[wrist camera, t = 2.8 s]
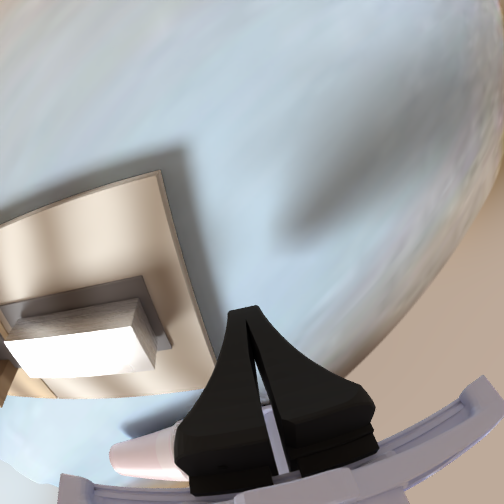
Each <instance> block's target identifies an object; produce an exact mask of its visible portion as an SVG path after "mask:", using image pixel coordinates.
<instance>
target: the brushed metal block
mask: <svg viewBox="0 0 504 504" xmlns="http://www.w3.org/2000/svg"><path fill="white" fill-rule="evenodd" d="M4 343H5V344H6V346H7V347H8V349H9V350H10V351H11V353H12V354H13V356H14V357H15V358H16V360H17V361H18V362H19V364H20V365H21V366H22V367H23V369H24V370H25V371H26V372H27V374H28V375H29V376H30V377H31V378H53V377H82V376H98V375H111V374H123V373H133V372H142V371H150V370H155V363H156V353H157V344H158V340H157V338H156V335H155V333H154V331H153V329H152V327H151V325H150V323H149V320H148V318H147V316H146V314H145V312H144V309H143V307H142V305H141V302H140V300H139V298H134V299H129V300H124V301H118V302H113V303H108V304H102V305H97V306H91V307H86V308H80V309H75V310H69V311H63V312H57V313H51V314H46V315H40V316H34V317H27V318H21V319H18V320H17V321H16V323H15V325H14V326H13V328H12V329H11V331H10V333H9V334H8V336H7V338H6V339H5V341H4Z"/></svg>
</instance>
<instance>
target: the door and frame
mask: <svg viewBox="0 0 504 504" xmlns="http://www.w3.org/2000/svg"><path fill="white" fill-rule="evenodd" d="M134 298H139V300H140V302H141V305H142V307H143V309H144V312H145V314H146V316H147V318H148V320H149V323H150V325H151V327H152V329H153V331H154V333H155V335H156V338H157V340H158V344H157V353H156V363H155V370H150V371H142V372H133V373H123V374H111V375H98V376H82V377H53V378H31V377H30V376H29V375H28V374H27V372H26V371H25V370H24V369H23V367H22V366H21V365H20V364H19V362H18V361H17V360H16V358H15V357H14V356H13V354H12V353H11V351H10V350H9V349H8V347H7V346H6V344H5V343H4V341H5V339H6V338H7V336H8V334H9V333H10V331H11V329H12V328H13V326H14V325H15V323H16V321H17V320H18V319H21V318H27V317H34V316H40V315H46V314H51V313H57V312H63V311H69V310H75V309H80V308H86V307H91V306H97V305H102V304H108V303H113V302H118V301H124V300H129V299H134ZM216 363H217V360H216V357H215V354H214V351H213V349H212V346H211V343H210V340H209V337H208V334H207V331H206V328H205V325H204V322H203V319H202V316H201V313H200V310H199V307H198V304H197V301H196V298H195V295H194V292H193V288H192V285H191V282H190V279H189V275H188V272H187V269H186V265H185V262H184V258H183V255H182V251H181V248H180V244H179V241H178V237H177V233H176V230H175V226H174V222H173V218H172V214H171V211H170V207H169V203H168V199H167V195H166V191H165V186H164V182H163V178H162V174H161V170H157V171H153V172H150V173H146V174H142V175H138V176H135V177H131V178H128V179H124V180H121V181H117V182H114V183H111V184H107V185H104V186H101V187H98V188H95V189H92V190H89V191H86V192H83V193H80V194H77V195H74V196H71V197H68V198H65V199H63V200H60V201H57V202H54V203H52V204H49V205H47V206H44V207H41V208H39V209H36V210H34V211H31V212H29V213H27V214H24V215H22V216H19V217H17V218H15V219H12V220H10V221H8V222H6V223H3V224H1V225H0V407H1V408H2V406H3V404H4V401H5V399H6V396H7V395H11V396H22V397H35V398H56V399H57V398H59V399H100V398H122V397H136V396H148V395H158V394H167V393H175V392H183V391H190V390H197V389H203V388H205V387H206V385H207V383H208V381H209V379H210V377H211V375H212V373H213V370H214V368H215V365H216Z"/></svg>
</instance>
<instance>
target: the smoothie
mask: <svg viewBox="0 0 504 504" xmlns="http://www.w3.org/2000/svg"><path fill="white" fill-rule="evenodd" d="M182 421H183V419H182V420H179V421H177V422H176V423H175V425H174V426H172V427H169V428H165V429H163V430H160V431H157V432H154V433H151V434H148V435H144V436H141V437H138V438H134V439H131V440H127V441H124V442H120V443H116V444H114V445H113V446H112V447H111V449H110V452H109V459H110V462H111V465H112V467H113V468H114V469H115V471H116V472H118V473H119V474H121V475H125V476H132V477H139V478H148V479H158V480H172V481H189V476H188V475H187V474H186V473H185V472H183V471H182V470H181V469H180V468H179V467H177V466H176V464H175V463H174V440H175V434H176V430H177V427H178V426H179V424H180V423H181V422H182Z"/></svg>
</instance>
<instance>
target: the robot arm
mask: <svg viewBox="0 0 504 504" xmlns="http://www.w3.org/2000/svg"><path fill="white" fill-rule="evenodd" d="M254 359H255V360H254ZM255 362H256V364H257V367H258V370H259V373H260V375H261V378H262V381H263V383H264V386H265V389H266V391H267V394H268V397H269V400H270V403H271V405H267V406H263V407H261V402H260V396H259V389H258V382H257V374H256V367H255ZM374 412H375V405H374V402H373V401H372V399H371V398H370V396H369V395H368V394H367V392H366V391H365V390H364V389H363V388H362V386H361V385H359V384H356V383H354V382H351V381H349V380H346V379H344V378H342V377H340V376H338V375H336V374H334V373H332V372H330V371H328V370H326V369H325V368H323V367H321V366H320V365H318V364H316V363H315V362H313V361H312V360H310V359H309V358H307V357H306V356H305V355H303V354H302V353H301V352H299V351H298V350H297V349H296V348H294V347H293V346H292V345H291V344H290V343H289V342H288V341H287V340H286V339H285V338H284V337H283V336H282V335H281V334H280V333H279V332H278V331H277V330H276V329H275V328H274V327H273V326H272V324H271V323H270V322H269V321H268V319H267V318H266V317H265V316H264V314H263V313H262V311H261V309H260V308H259V306H257V305H254V306H250V307H245V308H241V309H236V310H231V311H229V312H228V319H227V327H226V332H225V337H224V341H223V345H222V348H221V351H220V354H219V357H218V360H217V363H216V365H215V368H214V370H213V373H212V375H211V377H210V379H209V381H208V383H207V385H206V387H205V389H204V390H203V392H202V394H201V395H200V397H199V399H198V400H197V402H196V403H195V405H194V406H193V408H192V409H191V411H190V412H189V413H188V414H187V416H186V417H185V418H184V419H183V421H182V422H181V423H180V424H179V426H178V427H177V430H176V434H175V440H174V463H175V464H176V466H177V467H179V468H180V469H181V470H182V471H183V472H185V473H186V474H187V475H188V476H189V485H190V488H131V487H117V486H107V485H99V484H94V483H93V482H91V481H90V480H88V479H86V478H83V477H79V476H74V475H68V474H63V473H62V474H61V476H60V483H59V492H58V502H57V504H409V501H408V499H407V497H406V495H405V493H404V491H406V490H408V489H410V488H411V487H413V486H415V485H417V484H419V483H420V482H422V481H424V480H425V479H427V478H428V477H430V476H432V475H433V474H435V473H436V472H438V471H439V470H441V469H442V468H444V467H445V466H447V465H448V464H450V463H451V462H452V461H454V460H455V459H457V458H458V457H459V456H461V455H462V454H463V453H465V452H466V451H467V450H469V449H470V448H471V447H473V446H474V445H475V444H476V443H478V442H479V441H480V440H481V439H482V438H484V437H485V436H486V435H487V434H488V433H489V432H490V431H491V430H492V429H493V428H494V427H495V426H496V425H497V424H498V423H499V422H500V421H501V420H502V419H503V418H504V400H503V399H502V397H501V396H500V395H499V394H498V392H497V391H496V390H495V388H494V387H493V386H492V385H491V383H490V382H489V381H488V380H487V378H486V377H485V376H484V375H482V376H481V377H479V378H478V379H476V380H475V381H474V382H472V383H471V384H469V385H468V386H467V387H466V388H465V389H464V390H463V392H462V393H461V394H460V396H459V398H458V399H456V400H455V401H453V402H452V403H450V404H449V405H447V406H446V407H444V408H442V409H441V410H439V411H437V412H436V413H434V414H432V415H431V416H429V417H428V418H426V419H424V420H422V421H420V422H418V423H416V424H415V425H413V426H411V427H409V428H407V429H405V430H403V431H401V432H399V433H397V434H395V435H393V436H391V437H389V438H386V439H384V440H382V441H380V442H377V441H376V439H375V437H374V435H373V432H374V429H373V427H372V425H371V423H370V422H371V419H372V417H373V415H374Z"/></svg>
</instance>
